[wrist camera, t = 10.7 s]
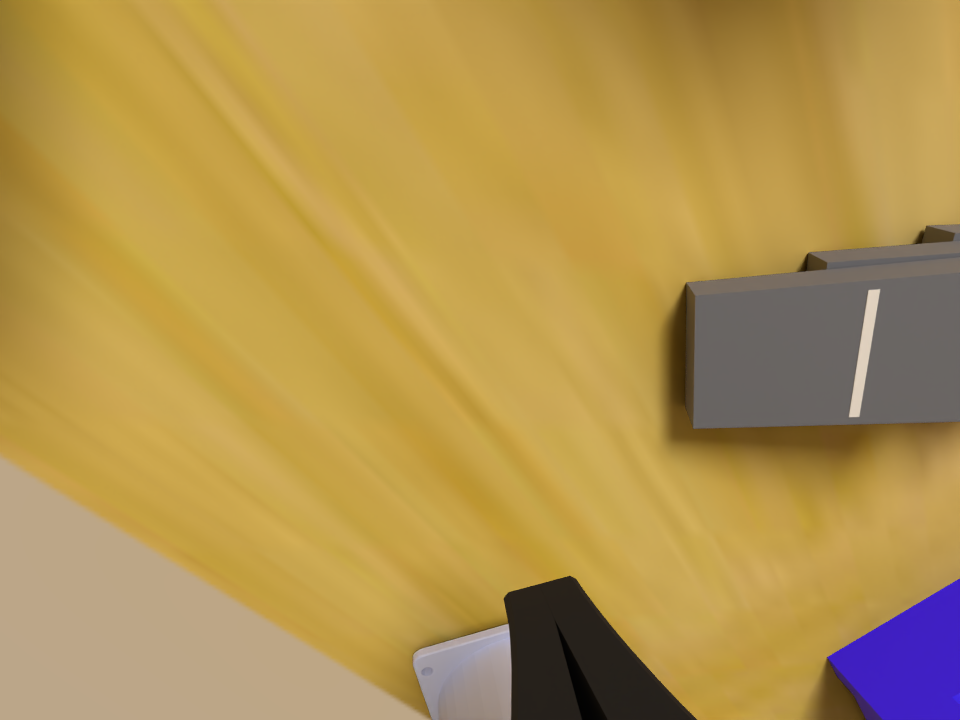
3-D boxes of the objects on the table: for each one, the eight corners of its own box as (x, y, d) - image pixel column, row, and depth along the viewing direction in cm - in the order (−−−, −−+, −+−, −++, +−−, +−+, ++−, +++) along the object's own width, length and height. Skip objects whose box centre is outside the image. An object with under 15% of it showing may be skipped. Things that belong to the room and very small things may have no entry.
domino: (685, 406, 19) (998, 395, 17) (693, 428, 18) (1037, 419, 15) (686, 282, 17) (1039, 249, 15) (695, 296, 16) (1088, 261, 13)
